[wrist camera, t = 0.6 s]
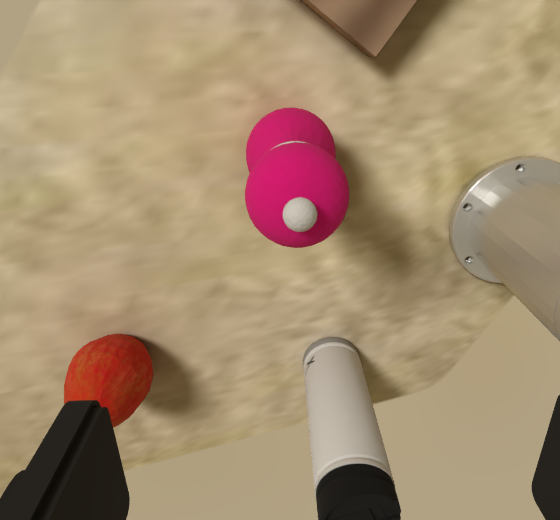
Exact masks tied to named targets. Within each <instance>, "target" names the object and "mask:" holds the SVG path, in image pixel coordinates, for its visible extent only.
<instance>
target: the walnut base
mask: <svg viewBox="0 0 560 520" xmlns="http://www.w3.org/2000/svg"><path fill="white" fill-rule="evenodd" d="M301 1H302V2H304V3H305V4H306V5H307V6H308V7H310V8H311V9H312V10H313V11H314V12H316V13H317V14H318V15H319V16H320V17H322V18H323V19H324V20H325V21H326V22H328V23H329V24H330V25H331V26H332V27H334V28H335V29H336V30H337V31H338V32H340V33H341V34H342V35H343V36H344V37H346V38H347V39H348V40H349V41H350V42H352V43H353V44H354V45H355V46H356V47H358V48H359V49H360V50H361V51H362V52H364V53H365V54H366V55H367V56H370V57H376V56H377V54H378V53H379V52H380V50H381V49H382V47H383V46H384V45H385V43H386V42H387V41H388V39H389V38H390V36H391V35H392V34H393V32H394V31H395V30H396V28H397V27H398V26H399V24H400V23H401V21H402V20H403V19H404V17H405V16H406V15H407V13H408V12H409V10H410V9H411V8H412V6H413V5H414V4H415V2H416V1H417V0H301Z"/></svg>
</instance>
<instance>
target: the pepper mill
mask: <svg viewBox="0 0 560 520" xmlns="http://www.w3.org/2000/svg"><path fill="white" fill-rule="evenodd" d="M335 156H336V153H335V145H334V141H333V137H332V135H331V133H330V131H329V129H328V127H327V126H326V125H325V123H324V122H323V121H322V120H321V119H320V118H318V117H317V116H316V115H314V114H313V113H311V112H309V111H306V110H303V109H298V108H283V109H279V110H276V111H274V112H271V113H269V114H268V115H266V116H265V117H263V118H262V119H261V120H260V121H259V122H258V123H257V124H256V126H255V127H254V128H253V130H252V132H251V134H250V136H249V139H248V142H247V148H246V160H247V165H248V169H249V172H250V174H249V177H248V179H247V184H246V189H245V201H246V206H247V210H248V213H249V216H250V219H251V220H252V222H253V224H254V226H255V227H256V228H257V229H258V230H259V231H260V232H261V233H262V234H263V235H264V236H265V237H267V238H268V239H270V240H271V241H273V242H275V243H277V244H280V245H282V246H287V247H293V248H299V247H307V246H312V245H315V244H317V243H319V242H321V241H323V240H325V239H326V238H328V237H329V236H330V235H331V234H332V233H333V232H334V231H335V230H336V229H337V228H338V227H339V225H340V224H341V222H342V220H343V219H344V216H345V214H346V211H347V208H348V203H349V187H348V182H347V178H346V175H345V172H344V170H343V169H342V167H341V165H340V164H339V163H338V161H337V160H336V159H335Z"/></svg>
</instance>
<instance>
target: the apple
mask: <svg viewBox="0 0 560 520" xmlns="http://www.w3.org/2000/svg"><path fill="white" fill-rule="evenodd" d="M152 379H153V368H152V361H151V357H150V355H149V353H148V351H147V350H146V348H145V346H144V344H143V343H142V342H141V341H139V340H137V339H136V338H134V337H133V336H128V335H124V334H113V335H107V336H104V337H102V338H99V339H97V340H94V341H92V342H89V343H88V344H86V345H85V346H83V347H82V348H81V349H80V350H79V351H78V352H77V353H76V355H75V356H74V357H73V359H72V361H71V363H70V365H69V368H68V372H67V376H66V380H65V385H64V403H66V402H68V401H77V400H98V402H99V403H100V405H101V407H107V408H108V410H109V413H110V418H111V422H112V426H113V427H115V426H118V425H119V424H121V423H122V422H124V421H125V420H126V419H128V418H129V417H130V416H131V415H132V414H133V413H134V411H135V410H136V409H137V408H138V406H139V405H140V404H141V402H142V401H143V400H144V398H145V397H146V395H147V394H148V392H149V390H150V386H151V383H152Z"/></svg>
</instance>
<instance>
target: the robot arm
mask: <svg viewBox="0 0 560 520" xmlns="http://www.w3.org/2000/svg"><path fill="white" fill-rule="evenodd" d="M517 165H518V167H517ZM516 167H517V168H516ZM465 204H466V206H465V207H463V206H464V205H465ZM449 240H450V244H451V247H452V250H453V252H454V254H455V256H456V258H457V260H458V261H459V262H460V263H461V264H462V266H463V267H464V268H465V269H467V270H468V271H469V272H470V273H471V274H473V275H475V276H476V277H478V278H480V279H483V280H486V281H489V282H494V283H502V284H504V285H505V286H506V287H507V288H508V289H509V290H510V291H511V292H512V293H513V294H514V295H515V296H516V297H517V298H518V299H519V300H520V301H521V302H522V303H523V304H524V305H525V306H526V307H527V308H528V309H529V310H530V311H531V312H532V313H533V315H534V316H535V317H536V318H537V319H539V321H541V323H542V324H543V325H544V326H545V327H546V328H547V329H548V330H549V331H550V332H551V333H552V334H553V335H554V336H555V337H556V338H557V339H558V340H559V341H560V163H558V162H555V161H553V160H550V159H547V158H542V157H535V156H528V157H517V158H513V159H509V160H505V161H503V162H501V163H498V164H496V165H494V166H492V167H490V168H489V169H487V170H486V171H484V172H482V173H481V174H480V175H479V176H477V177H476V178H475V179H474V180H473V181H472V182H471V183H470V184H469V185H468V186H467V187H466V189H465V190H464V191H463V192H462V194H461V195H460V197H459V199H458V201H457V202H456V204H455V206H454V209H453V212H452V215H451V218H450V225H449ZM466 257H467V258H466ZM532 493H533V497H534V500H535V502H536V504H537V505H538V507H539V509H540V511H541V512H542V514H543V516H544V517H545V519H546V520H560V395H559V396H558V398H557V401H556V404H555V407H554V411H553V414H552V418H551V421H550V424H549V427H548V431H547V434H546V437H545V441H544V444H543V448H542V451H541V454H540V458H539V461H538V464H537V468H536V471H535V474H534V478H533V481H532ZM128 510H129V492H128V488H127V484H126V479H125V476H124V471H123V467H122V463H121V459H120V455H119V451H118V446H117V442H116V438H115V434H114V430H113V426H112V422H111V418H110V413H109V410H108V408H107V407H101V405H100V403H99V402H98V400H77V401H68V402H66V403H65V405H64V406H63V407H62V409H61V411H60V412H59V414H58V416H57V417H56V419H55V421H54V423H53V424H52V426H51V428H50V429H49V431H48V433H47V434H46V436H45V438H44V439H43V441H42V443H41V444H40V446H39V448H38V449H37V451H36V453H35V455H34V456H33V458H32V460H31V461H30V463H29V465H28V466H27V468H26V470H23V471H21V472H19V473H18V474H17V475H15V477H14V478H13V479H12V481H11V482H10V483H9V485H8V487H7V488H6V490H5V491H4V493H3V495H2V496H1V498H0V520H126V517H127V514H128Z"/></svg>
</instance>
